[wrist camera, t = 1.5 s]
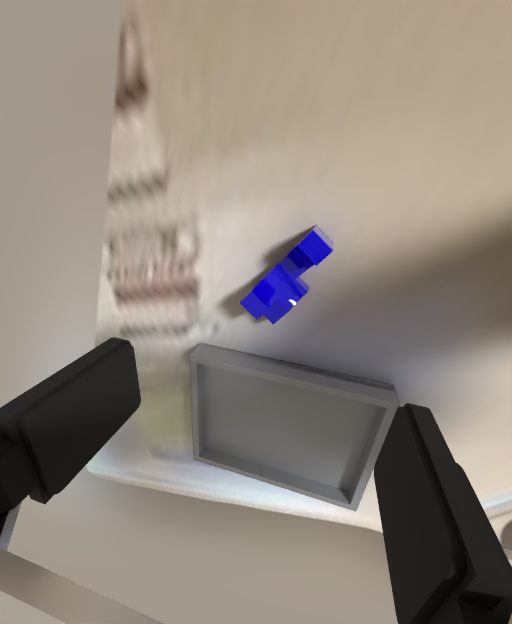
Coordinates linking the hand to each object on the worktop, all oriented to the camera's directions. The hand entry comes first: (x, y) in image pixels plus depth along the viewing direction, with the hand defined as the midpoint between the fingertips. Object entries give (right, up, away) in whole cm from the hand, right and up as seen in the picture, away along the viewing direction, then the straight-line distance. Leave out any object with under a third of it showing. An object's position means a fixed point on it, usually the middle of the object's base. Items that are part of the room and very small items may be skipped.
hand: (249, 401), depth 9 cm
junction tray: (+3, -9, +21) cm, 23 cm away
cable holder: (+4, +7, +14) cm, 16 cm away
